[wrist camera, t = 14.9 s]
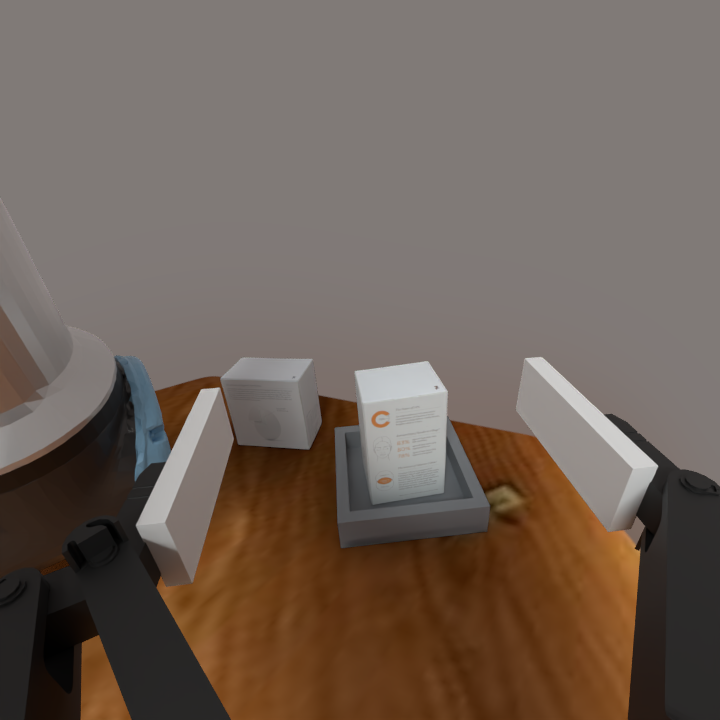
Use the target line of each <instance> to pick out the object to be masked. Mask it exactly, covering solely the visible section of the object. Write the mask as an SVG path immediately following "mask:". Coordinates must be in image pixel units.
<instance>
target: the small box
mask: <svg viewBox="0 0 720 720" xmlns="http://www.w3.org/2000/svg"><path fill="white" fill-rule="evenodd" d="M354 373H355V386H356V395H357V407H358V417H359V428H360V438H361V448H362V458H363V466H364V471H365V475H366V480H367V485H368V490H369V495H370V500H371V504H372V505H375V504H381V503H386V502H392V501H399V500H405V499H411V498H417V497H423V496H429V495H435V494H441V493H444V484H445V463H446V430H447V404H448V391H447V390H446V388H445V387H444V385H443V384H442V383H441V381H440V379H439V378H438V376H437V374H436V373H435V371H434V370H433V368H432V367H431V365H430V364H429V362H428V361H426V362H419V363H412V364H404V365H397V366H389V367H382V368H374V369H367V370H359V371H355V372H354Z"/></svg>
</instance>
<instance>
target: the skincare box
mask: <svg viewBox="0 0 720 720" xmlns="http://www.w3.org/2000/svg"><path fill="white" fill-rule="evenodd" d="M220 379H221V383H222V387H223V390H224V393H225V397H226V401H227V404H228V408H229V411H230V415H231V419H232V422H233V426H234V430H235V434H236V438H237V442H238V445H249V446H264V447H279V448H294V449H310V447H311V445H312V443H313V441H314V439H315V437H316V434H317V432H318V430H319V428H320V426H321V423H322V419H321V412H320V405H319V398H318V392H317V385H316V377H315V370H314V364H313V359H286V358H284V359H283V358H241V359H240V360H239V361H238V362H237V363H236V364H235V365H234V366H233V367H232V368H231V369H230V370H228V371H227V372H226V373H225V375H223V376H222V377H221V378H220Z"/></svg>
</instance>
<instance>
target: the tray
mask: <svg viewBox="0 0 720 720" xmlns="http://www.w3.org/2000/svg"><path fill="white" fill-rule="evenodd" d="M335 452H336V488H337V523H338V530H339V537H340V545H341V548H346V547H355V546H364V545H373V544H382V543H390V542H399V541H408V540H417V539H426V538H434V537H443V536H452V535H461V534H470V533H478V532H487V529H488V521H489V512H490V505H489V503H488V500H487V498H486V496H485V494H484V492H483V490H482V488H481V486H480V483H479V481H478V479H477V477H476V475H475V473H474V471H473V469H472V466H471V464H470V462H469V460H468V458H467V456H466V454H465V452H464V449H463V447H462V445H461V443H460V441H459V439H458V437H457V434H456V432H455V430H454V428H453V426H452V424H451V422H450V420H449V418H448V416H447V430H446V463H445V484H444V493H441V494H435V495H429V496H423V497H417V498H411V499H405V500H399V501H392V502H386V503H381V504H375V505H372V504H371V500H370V495H369V490H368V485H367V480H366V475H365V471H364V466H363V458H362V448H361V438H360V428H359V425H356V426H347V427H337V428H335Z"/></svg>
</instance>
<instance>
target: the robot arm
mask: <svg viewBox="0 0 720 720" xmlns="http://www.w3.org/2000/svg"><path fill="white" fill-rule="evenodd" d="M516 411H517V412H518V413H519V415H520V416H521V417H522V418H523V420H524V421H525V422H526V424H527V425H528V426H529V428H530V429H531V430H532V432H533V433H534V434H535V436H536V437H537V438H538V440H539V441H540V442H541V444H542V445H543V446H544V448H545V449H546V450H547V452H548V453H549V454H550V456H551V457H552V458H553V460H554V461H555V462H556V464H557V465H558V466H559V468H560V469H561V470H562V471H563V473H564V474H565V475H566V477H567V478H568V479H569V481H570V482H571V483H572V485H573V486H574V487H575V489H576V490H577V491H578V493H579V494H580V495H581V497H582V498H583V499H584V501H585V502H586V503H587V505H588V506H589V507H590V509H591V510H592V511H593V513H594V514H595V515H596V516H597V518H598V519H599V520H600V522H601V523H602V524H603V526H604V527H605V528H606V530H607V531H608V532H611V531H619V530H627V529H631V528H632V525H633V523H634V520H635V518H636V516H637V517H638V518H639V519H640V520H641V521H642V523H643V524H644V525H645V528H644V530H643V532H642V534H641V537H640V539H639V541H638V543H637V545H636V547H635V549H636V550H640V548H641V552H640V565H639V579H638V592H637V605H636V618H635V631H634V644H633V657H632V671H631V684H630V697H629V710H628V720H720V486H718V485H717V484H716V483H715V482H714V481H713V480H711V479H709V478H708V477H706V476H704V475H701V474H699V473H697V472H693V471H689V470H680V469H679V468H677V467H676V466H675V465H674V464H673V463H672V462H671V461H670V460H669V459H667V458H666V457H665V456H664V455H663V454H662V453H661V452H660V451H658V450H657V449H656V448H655V447H654V446H653V445H652V444H650V443H649V442H647V441H646V439H645V438H644V437H643V436H642V435H641V434H638V433H637V431H636V430H635V429H634V428H632V426H630V425H629V424H628V423H627V422H626V421H624V420H622V419H620V418H618V417H616V416H615V415H613V414H606V415H603V414H602V413H601V412H600V411H599V410H598V409H597V408H596V407H595V406H593V404H591V403H590V402H589V401H588V400H587V399H586V398H585V397H584V396H583V395H582V394H581V393H580V392H579V391H578V390H577V389H576V388H574V387H573V386H572V385H571V384H570V383H569V382H568V381H567V380H566V379H565V378H564V377H563V376H561V374H559V373H558V372H557V371H556V370H555V369H554V368H553V367H552V366H551V365H550V364H549V363H548V362H547V361H546V360H545V359H543V358H542V357H537V358H526V359H525V360H524V366H523V372H522V377H521V383H520V389H519V394H518V400H517V406H516ZM233 440H234V437H233V434H232V430H231V426H230V423H229V419H228V415H227V412H226V408H225V404H224V401H223V397H222V394H221V390H220V388H212V389H201V391H200V393H199V395H198V397H197V399H196V401H195V403H194V406H193V408H192V410H191V412H190V414H189V416H188V418H187V420H186V422H185V424H184V426H183V428H182V430H181V433H180V435H179V437H178V439H177V441H176V443H175V445H174V447H173V449H172V451H171V449H170V445H169V441H168V438H167V435H166V433H165V431H164V424H163V420H162V414H161V410H160V407H159V404H158V401H157V397H156V394H155V391H154V389H153V386H152V383H151V380H150V378H149V375H148V373H147V371H146V369H145V367H144V365H143V363H142V362H141V361H140V359H138V358H137V357H135V356H124V357H123V356H113V354H112V352H111V350H110V349H109V348H108V347H107V345H105V343H104V342H103V341H102V340H101V339H100V338H98V337H96V336H95V335H93V334H91V333H89V332H86V331H84V330H81V329H78V328H74V327H70V326H66V325H65V323H64V321H63V319H62V317H61V315H60V313H59V311H58V310H57V307H56V305H55V303H54V301H53V299H52V298H51V296H50V294H49V292H48V290H47V288H46V286H45V284H44V282H43V280H42V278H41V276H40V274H39V272H38V270H37V268H36V266H35V264H34V262H33V260H32V258H31V256H30V254H29V252H28V250H27V248H26V246H25V244H24V243H23V240H22V238H21V236H20V234H19V233H18V231H17V229H16V227H15V225H14V223H13V221H12V219H11V217H10V215H9V213H8V211H7V209H6V207H5V205H4V203H3V201H2V199H1V197H0V720H80V717H81V654H82V642H84V641H86V640H88V639H90V638H93V637H95V636H97V635H99V636H100V639H101V641H102V644H103V646H104V649H105V652H106V654H107V657H108V659H109V662H110V665H111V667H112V670H113V672H114V675H115V678H116V680H117V683H118V685H119V688H120V690H121V693H122V696H123V698H124V701H125V703H126V706H127V709H128V711H129V714H130V716H131V719H132V720H231V719H230V717H229V715H228V714H227V712H226V710H225V708H224V707H223V705H222V703H221V701H220V700H219V698H218V696H217V694H216V692H215V691H214V689H213V687H212V685H211V684H210V682H209V680H208V678H207V677H206V675H205V673H204V671H203V670H202V668H201V666H200V664H199V662H198V661H197V659H196V657H195V655H194V654H193V652H192V650H191V648H190V647H189V645H188V643H187V641H186V640H185V638H184V636H183V634H182V632H181V631H180V629H179V627H178V625H177V624H176V622H175V620H174V618H173V617H172V615H171V613H170V611H169V610H168V608H167V606H166V604H165V602H164V601H163V599H162V597H161V595H160V594H159V592H158V590H157V588H156V587H157V584H158V581H159V579H160V576H161V577H162V579H163V581H164V583H165V585H166V587H167V586H176V585H184V584H192V583H193V579H194V576H195V572H196V569H197V565H198V562H199V558H200V555H201V551H202V548H203V545H204V541H205V538H206V534H207V531H208V527H209V524H210V520H211V517H212V513H213V510H214V506H215V503H216V499H217V496H218V492H219V489H220V485H221V482H222V478H223V475H224V472H225V468H226V465H227V461H228V458H229V454H230V451H231V447H232V444H233ZM65 559H66V560H67V562H68V563H69V565H70V566H68V567H65V568H62V569H60V570H57V571H54V572H52V573H49V574H47V575H44V576H43V575H42V574H41V573H40V571H41V570H43V569H45V568H47V567H49V566H52V565H54V564H56V563H58V562H60V561H62V560H65Z"/></svg>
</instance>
